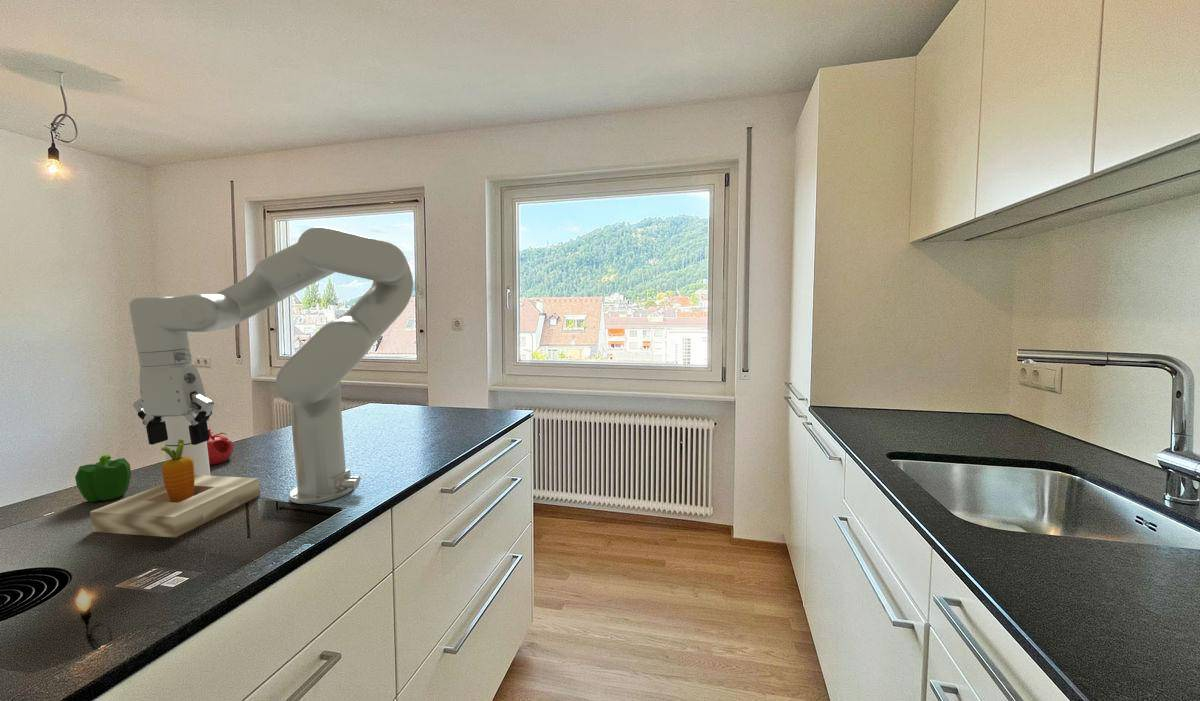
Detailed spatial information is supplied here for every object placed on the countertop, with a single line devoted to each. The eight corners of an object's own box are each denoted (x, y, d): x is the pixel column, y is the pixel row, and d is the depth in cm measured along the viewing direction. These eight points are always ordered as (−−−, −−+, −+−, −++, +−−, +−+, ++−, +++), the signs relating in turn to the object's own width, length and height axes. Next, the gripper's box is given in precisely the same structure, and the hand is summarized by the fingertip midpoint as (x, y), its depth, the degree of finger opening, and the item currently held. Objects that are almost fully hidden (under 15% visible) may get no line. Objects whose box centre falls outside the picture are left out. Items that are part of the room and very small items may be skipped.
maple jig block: (260, 495, 102) (258, 478, 101) (176, 537, 84) (173, 516, 83) (189, 491, 104) (187, 474, 103) (92, 531, 86) (90, 511, 86)
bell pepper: (80, 498, 101) (73, 454, 99) (133, 486, 107) (127, 445, 105) (78, 510, 95) (71, 464, 94) (134, 497, 101) (128, 453, 100)
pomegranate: (180, 472, 116) (174, 437, 114) (196, 459, 125) (191, 426, 124) (228, 465, 120) (223, 431, 118) (240, 453, 129) (235, 421, 127)
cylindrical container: (219, 479, 110) (207, 378, 107) (189, 492, 103) (177, 384, 100) (192, 478, 111) (180, 378, 108) (161, 491, 104) (148, 383, 101)
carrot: (173, 519, 90) (163, 446, 89) (163, 514, 93) (153, 443, 91) (204, 509, 95) (195, 439, 93) (194, 504, 97) (185, 436, 96)
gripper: (222, 355, 93) (234, 436, 95) (149, 357, 95) (162, 436, 97) (184, 361, 85) (198, 449, 88) (106, 363, 87) (121, 448, 90)
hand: (179, 442), depth 92 cm, fingers open, 9 cm apart
